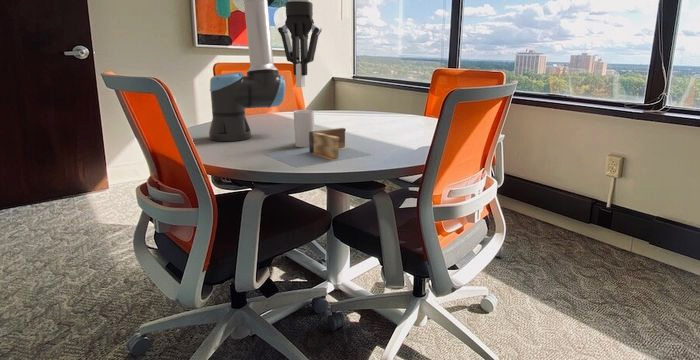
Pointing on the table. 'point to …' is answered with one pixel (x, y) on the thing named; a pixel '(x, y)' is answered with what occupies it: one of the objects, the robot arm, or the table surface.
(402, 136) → the table surface
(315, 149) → the wooden board
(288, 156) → the card
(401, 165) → the table surface
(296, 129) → the mug
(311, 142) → the base
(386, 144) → the table surface
